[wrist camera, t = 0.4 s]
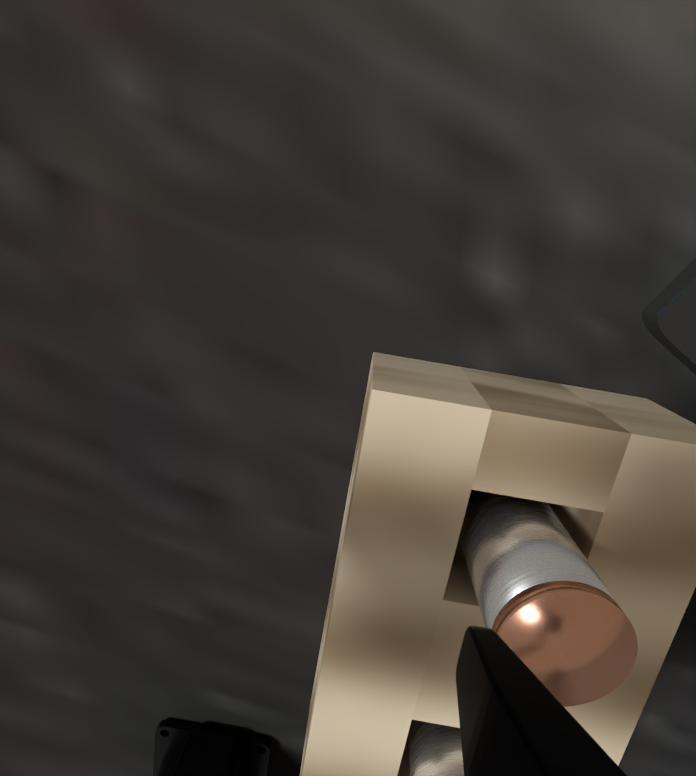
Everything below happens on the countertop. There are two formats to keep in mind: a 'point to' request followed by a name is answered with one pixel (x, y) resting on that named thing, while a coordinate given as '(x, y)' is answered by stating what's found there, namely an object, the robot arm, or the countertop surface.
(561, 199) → the countertop surface
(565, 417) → the birch block
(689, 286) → the smart home device
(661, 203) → the countertop surface
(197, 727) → the robot arm
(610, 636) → the steel peg
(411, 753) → the steel peg
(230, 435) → the countertop surface
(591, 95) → the countertop surface
